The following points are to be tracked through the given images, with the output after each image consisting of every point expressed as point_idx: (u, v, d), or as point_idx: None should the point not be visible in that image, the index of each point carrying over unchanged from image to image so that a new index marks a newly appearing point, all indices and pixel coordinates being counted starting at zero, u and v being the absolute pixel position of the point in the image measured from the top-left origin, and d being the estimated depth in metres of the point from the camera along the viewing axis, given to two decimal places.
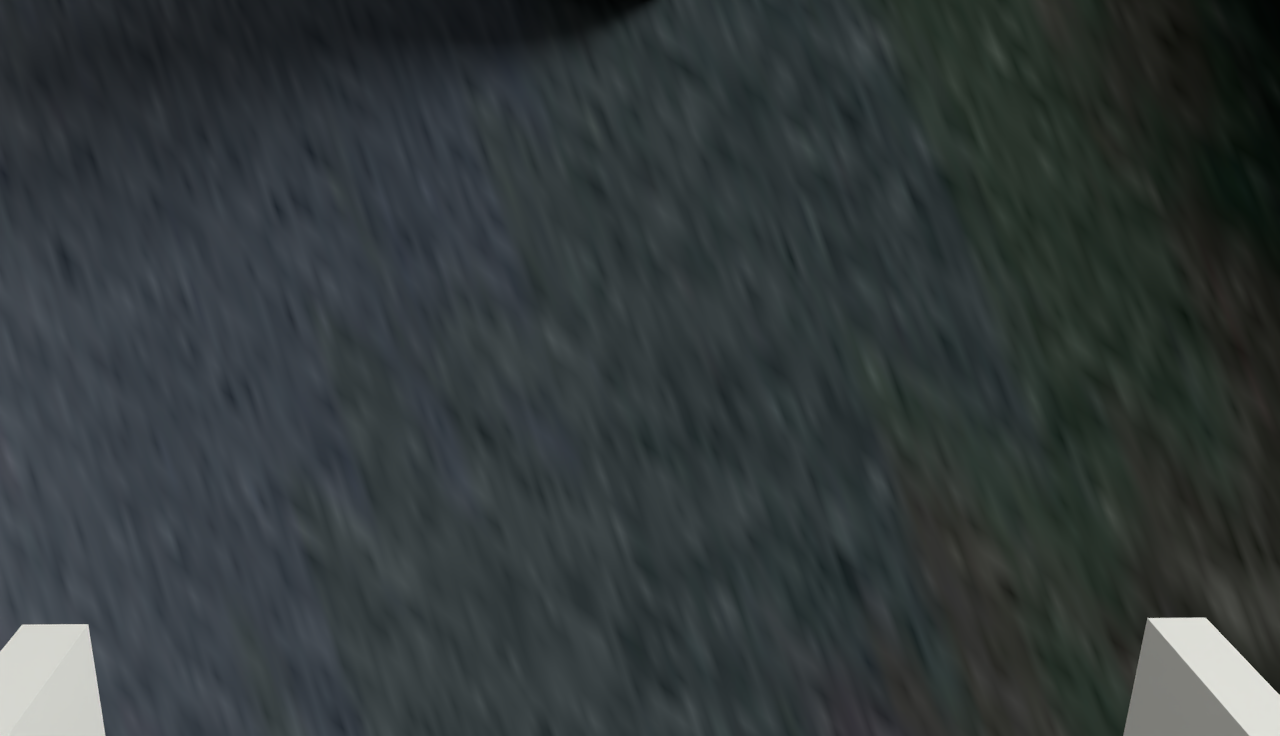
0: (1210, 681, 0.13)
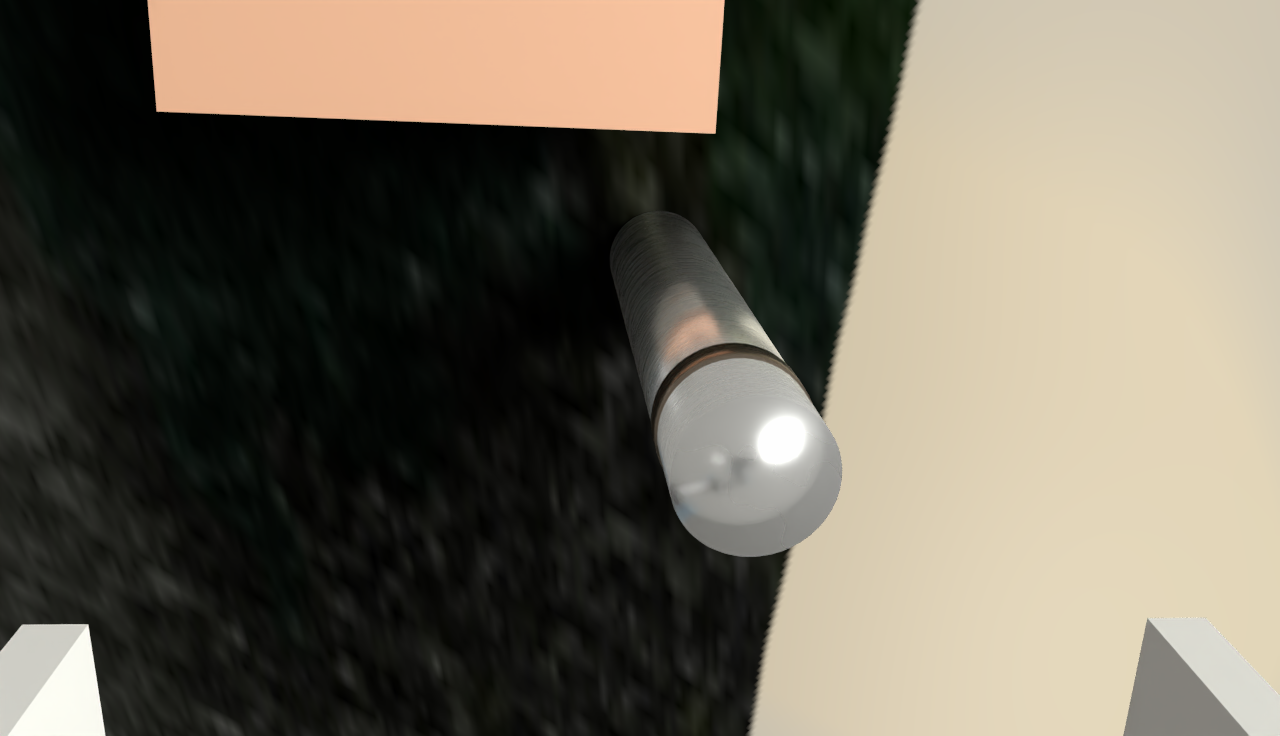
0: (1210, 680, 0.13)
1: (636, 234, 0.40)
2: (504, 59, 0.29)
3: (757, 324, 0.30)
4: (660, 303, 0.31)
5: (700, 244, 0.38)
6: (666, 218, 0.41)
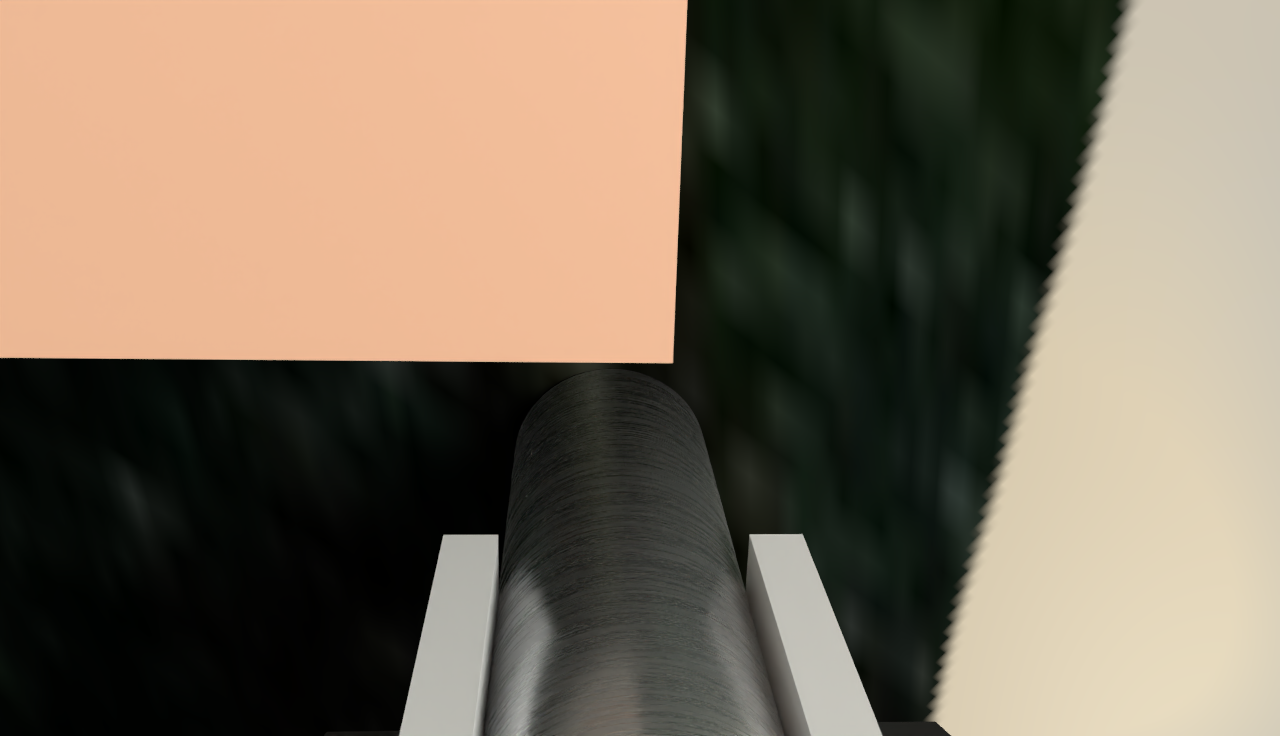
0: (771, 582, 0.15)
1: (550, 443, 0.19)
2: None
3: None
4: None
5: (680, 490, 0.17)
6: (618, 397, 0.20)
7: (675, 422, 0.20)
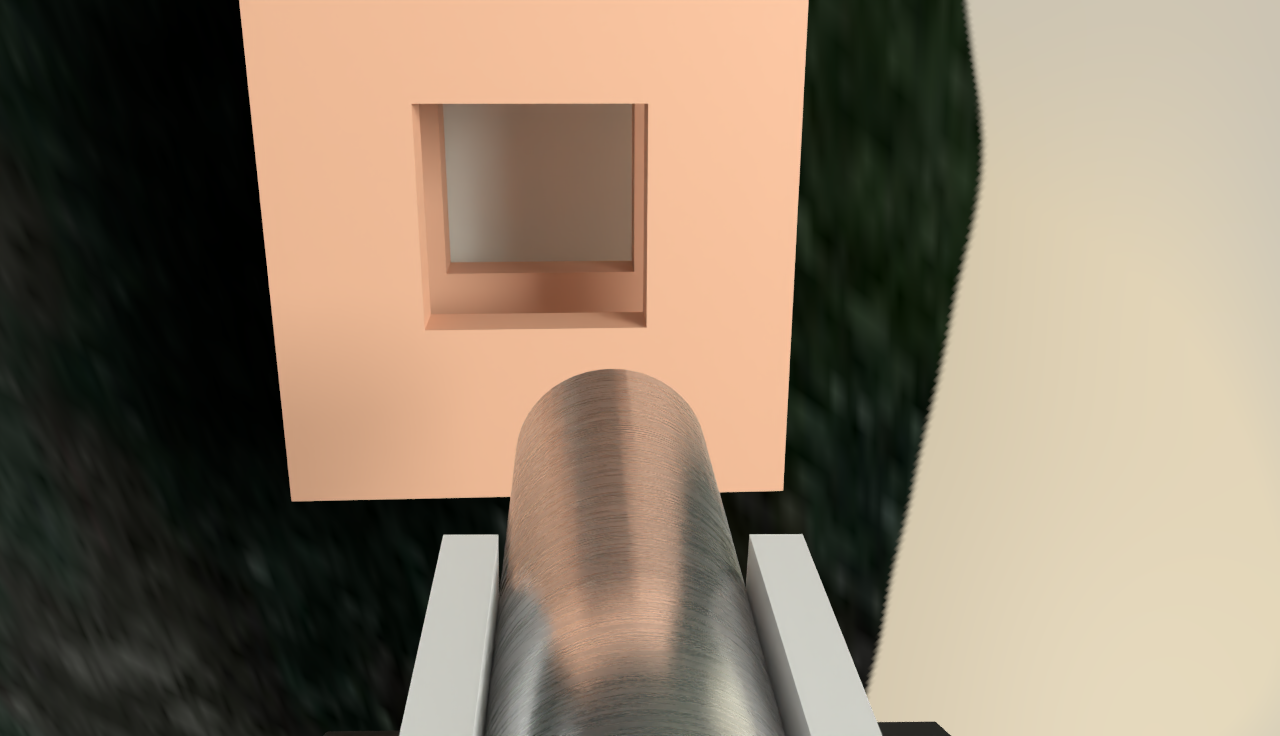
0: (771, 582, 0.15)
1: (551, 443, 0.19)
2: None
3: None
4: None
5: (681, 490, 0.17)
6: (619, 396, 0.20)
7: (676, 422, 0.20)
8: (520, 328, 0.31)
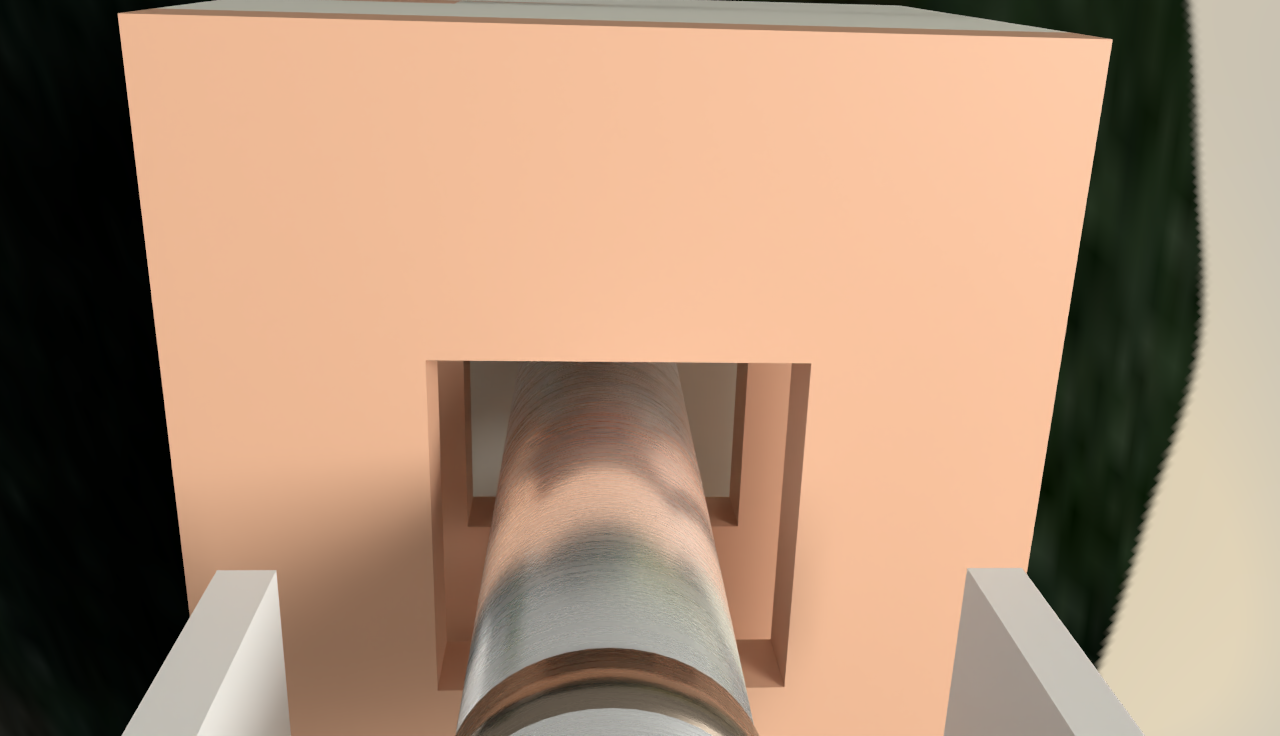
0: (1009, 621, 0.14)
1: None
2: None
3: (690, 543, 0.16)
4: (527, 482, 0.18)
5: None
6: None
7: None
8: None
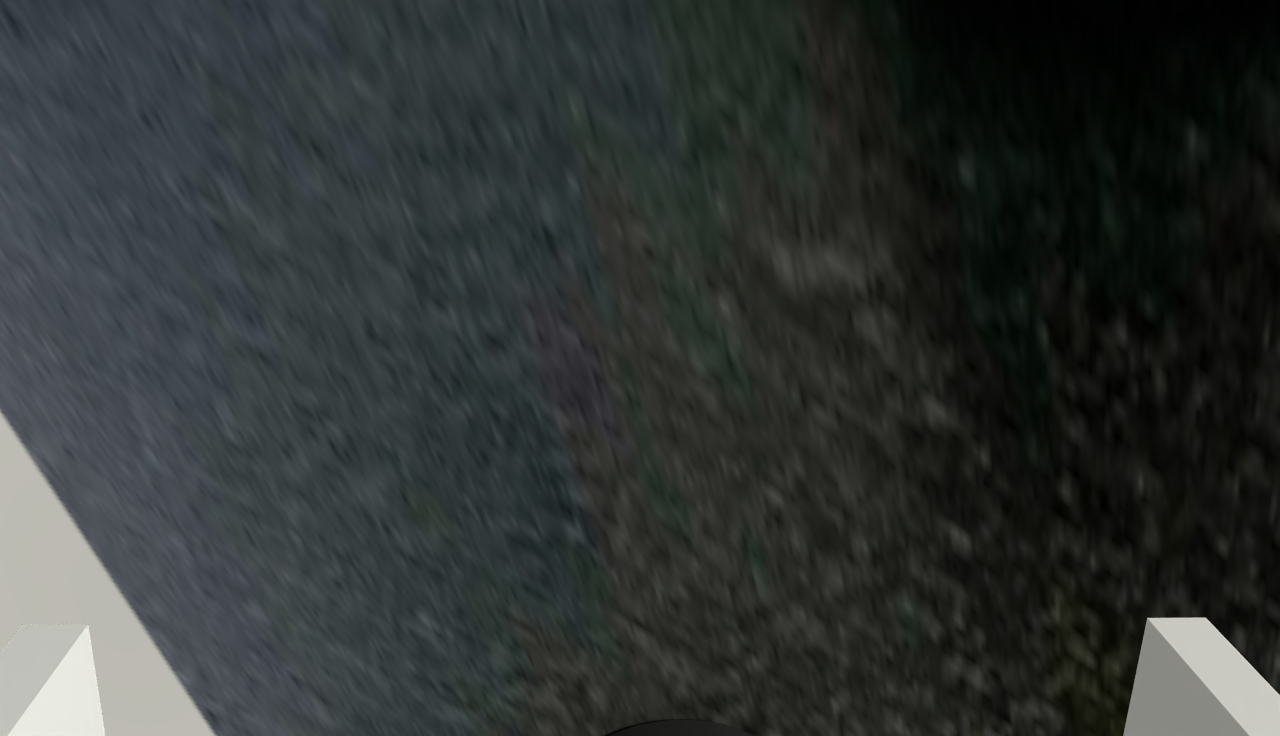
0: (1208, 680, 0.13)
1: None
2: None
3: None
4: None
5: None
6: None
7: None
8: None
